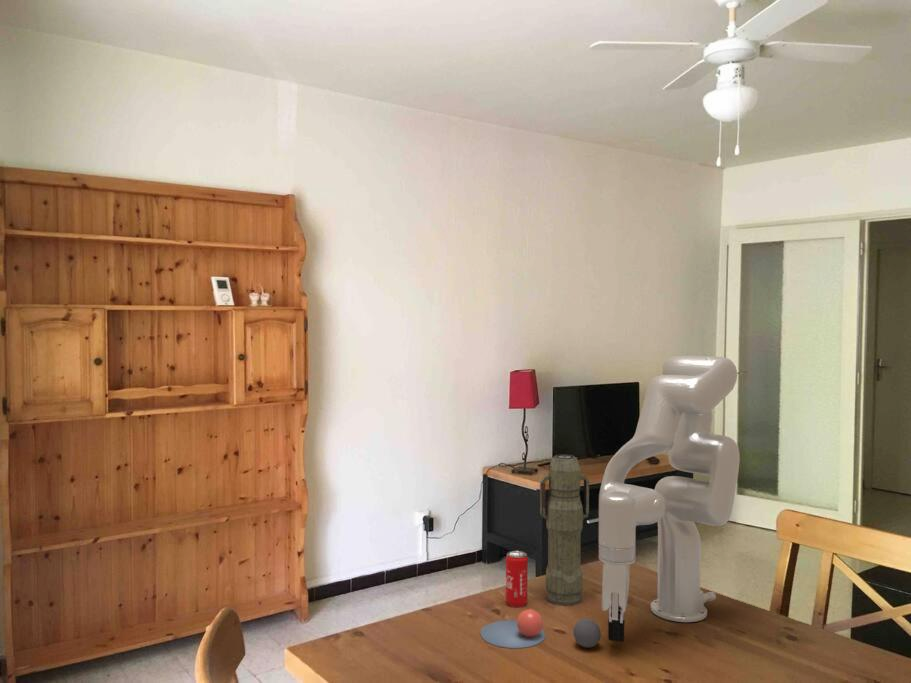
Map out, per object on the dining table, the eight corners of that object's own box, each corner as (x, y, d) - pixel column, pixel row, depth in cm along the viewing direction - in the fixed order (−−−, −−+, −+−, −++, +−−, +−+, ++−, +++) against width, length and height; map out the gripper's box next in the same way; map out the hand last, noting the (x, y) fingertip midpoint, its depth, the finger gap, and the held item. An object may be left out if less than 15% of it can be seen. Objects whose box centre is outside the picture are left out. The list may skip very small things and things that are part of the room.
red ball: (538, 605, 162) (524, 625, 163) (521, 602, 158) (507, 622, 159) (552, 624, 157) (538, 644, 158) (535, 621, 154) (520, 642, 155)
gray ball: (586, 609, 156) (581, 630, 158) (570, 620, 152) (565, 641, 154) (608, 624, 153) (602, 645, 154) (593, 635, 149) (587, 657, 150)
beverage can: (526, 608, 174) (526, 558, 173) (504, 606, 175) (504, 556, 174) (528, 600, 179) (528, 551, 178) (507, 598, 180) (507, 550, 179)
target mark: (525, 617, 169) (525, 616, 169) (557, 641, 156) (557, 640, 156) (469, 627, 163) (469, 626, 163) (498, 653, 150) (498, 652, 150)
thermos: (535, 593, 183) (535, 454, 182) (579, 590, 185) (580, 452, 184) (546, 607, 174) (547, 460, 173) (593, 603, 177) (594, 458, 176)
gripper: (601, 540, 161) (601, 623, 161) (595, 562, 147) (594, 652, 147) (636, 543, 159) (636, 627, 159) (633, 565, 144) (633, 657, 145)
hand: (616, 639), depth 153 cm, fingers closed
